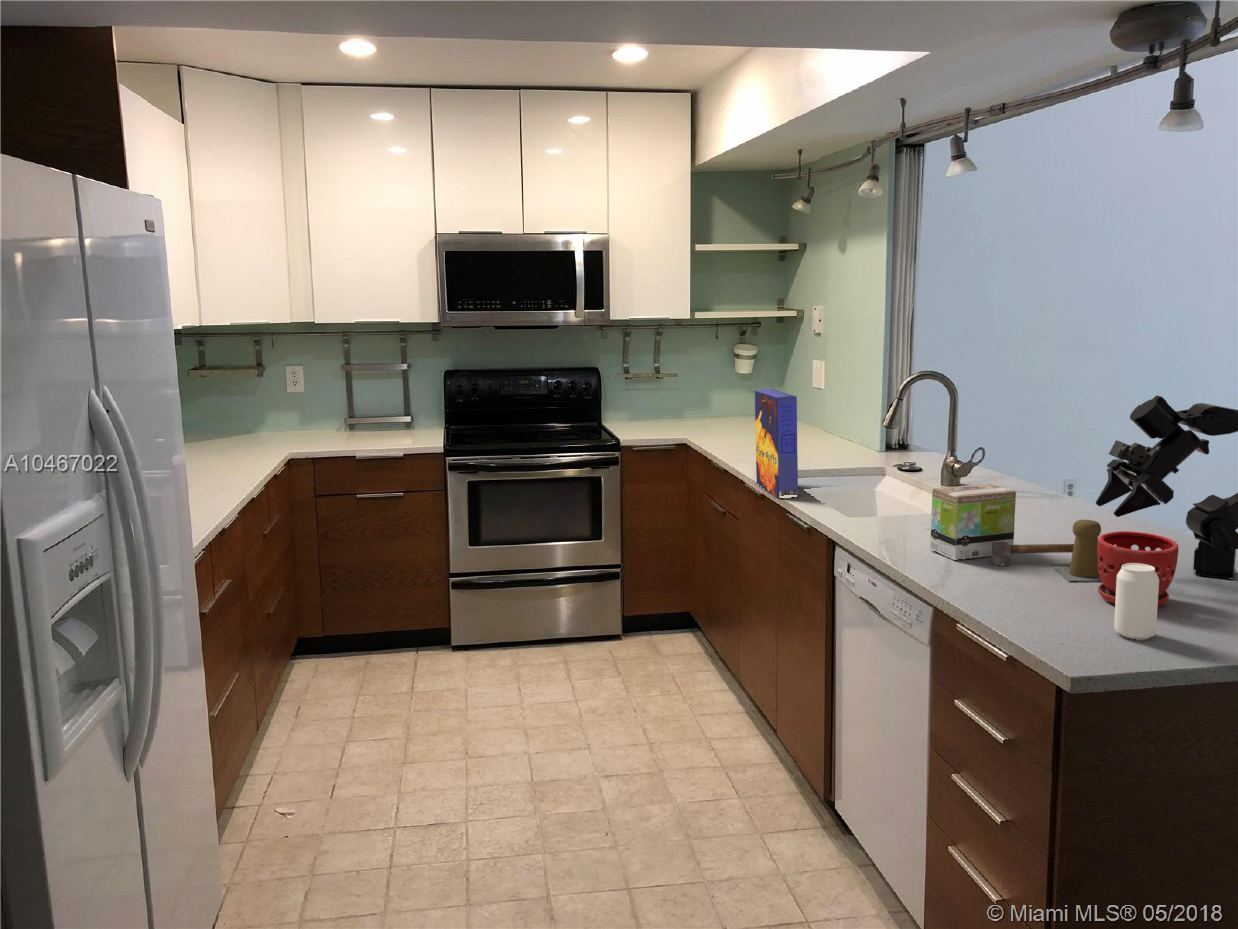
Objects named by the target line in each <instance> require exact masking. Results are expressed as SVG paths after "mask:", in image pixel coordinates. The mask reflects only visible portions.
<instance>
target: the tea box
mask: <svg viewBox="0 0 1238 929" xmlns="http://www.w3.org/2000/svg"><path fill="white" fill-rule="evenodd" d="M1016 500H1017V492H1016V491H1015V490H1014V489H1013V490H1012V489H1009V488H1006V487H1002V486H999V485H995V484H992V483H980V484H969V485H968V484H967V485H958V486H957V485H956V486H946V487H937V488H936V487H935V488H932V498H931V515H930V516H931V518H930V544H929V545H930V547H929V548H932V549H934V550H936V551H939V552H941V553H942V554H944V555H948V556H949V557H951V558H954V559H962V560H965V559H964V558H969V559H977V558H986V557H992V542H1007V543H1008V544H1009V545H1014V543H1015V541H1014V539H1015V522H1016V521H1015V518H1016V504H1017V503H1016ZM1012 554H1013V553H1010V555H1012Z"/></svg>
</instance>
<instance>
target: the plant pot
mask: <svg viewBox="0 0 1238 929" xmlns="http://www.w3.org/2000/svg"><path fill="white" fill-rule="evenodd" d="M1133 546H1136V547H1137V548H1138V549H1132V547H1133ZM1146 548H1149V549H1150V550H1146ZM1157 549H1160V550H1157ZM1097 555H1098V571H1099V575H1100V578H1101V580H1102V582H1101V584H1099V586H1098V587H1097V592H1098V594H1099V595H1100V597H1102V598H1103V599H1104V600H1105V601H1107V602H1109V603H1111V604H1114V605H1115V601H1116V581H1117V574H1118V573H1119V571H1120V570H1121V568H1122V565H1123V564H1127V563H1141V564H1147V565H1150V566H1153V567H1154V568H1155V572H1156V574H1157V576H1158V578H1159V590H1158V607H1161V606H1163V605H1164V604H1166V603H1167V602H1168V601H1169V597H1170V595H1169V593H1168V592H1167V589H1169V587H1170V585H1171V584H1172V581H1173V579H1174V577H1175V573H1176V569H1177V566H1178V557H1179V544H1178V543H1177V541H1175V540H1173V539H1172V538H1171V539H1170V538H1169V537H1165V536H1162V535H1158V534H1154V533H1147V532H1143V531H1142V532H1139V531H1129V530H1123V531H1121V530H1120V531H1109V532H1107V533H1106V532H1105V533H1103V534H1100V535H1099V536H1098V545H1097ZM1102 559H1103V561H1102ZM1158 607H1157V608H1158Z"/></svg>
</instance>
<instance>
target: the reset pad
mask: <svg viewBox="0 0 1238 929" xmlns="http://www.w3.org/2000/svg"><path fill="white" fill-rule="evenodd" d="M1054 569H1055V570H1056V571H1055V570H1054ZM1053 570H1054V571H1055V572H1057V573H1058V572H1059V573H1058V574H1059V575H1060V574H1061V575H1062V576H1063V577H1064V578H1063V577H1062V576H1061V575H1060V576H1061V577H1062V578H1063V579H1065V578H1066V579H1067V580H1068V581H1070V582H1069V583H1072V582H1071V581H1078V582H1077V583H1103V582H1102V580H1101V578H1100V576H1099V577H1080V576H1075V575H1072V574H1070V573H1069V570H1070V566H1069V567H1064V566H1063V567H1053ZM1066 579H1065V580H1066ZM1067 580H1066V581H1067ZM1068 581H1067V582H1068ZM1082 581H1083V582H1082Z"/></svg>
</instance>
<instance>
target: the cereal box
mask: <svg viewBox="0 0 1238 929" xmlns="http://www.w3.org/2000/svg"><path fill="white" fill-rule="evenodd" d="M797 398H798V396H797V395H793V394H789V393H787V392H782V391H780V390H775V389H769V388H768V389H767V388H764V389H758V390H754V417H755V418H754V419H755V422H754V423H755V424H754V425H755V426H754V427H755V465H756V466H755V471H756V472H755V473H756V479H755V480H756V484H757V483H758V484H759V486H762V488H761V489H762V490H763V488H764V489H765V490H764V491H765V492H767V493H768V494H770V495H771V496H773V498H776V499H777V500H780V499H779V497H780V496H784V495H798V496H799V481H798V480H799V477H798V476H799V475H798V473H799V471H798V470H799V469H798V468H799V466H798V462H799V461H798V459H799V458H798V399H797ZM759 486H758V487H759Z"/></svg>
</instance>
